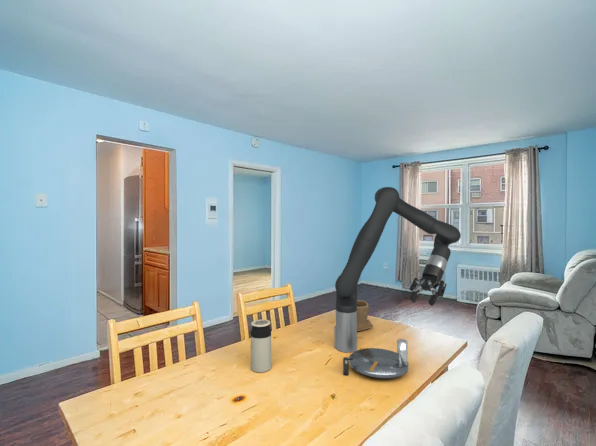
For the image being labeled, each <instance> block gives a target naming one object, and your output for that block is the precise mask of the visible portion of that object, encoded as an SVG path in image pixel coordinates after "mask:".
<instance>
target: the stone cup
mask: <svg viewBox="0 0 596 446" xmlns="http://www.w3.org/2000/svg"><path fill="white" fill-rule="evenodd" d="M369 312H370V305H369V302H367V301H366V300H362V299H357V332H362V331H365V330H368V329H372V328H374V325H373V324H372V322H371V321H370V319H368V316H369V314H370V313H369Z"/></svg>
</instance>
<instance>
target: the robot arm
mask: <svg viewBox="0 0 596 446" xmlns="http://www.w3.org/2000/svg"><path fill="white" fill-rule="evenodd" d="M374 202H375V205H374V208H373V210H372V212H371V215H369V217H368V219H367V220H366V222H364V224H363V226H361V228H360V230H359V232H358V234H357V235H356V238H355V240H354V242H353V245H352V247H351V249H350V253H349V256H348V260H347V263H346V264H345V267H344V268H343V270H342V271H341V273H340V275H339V276H337V279H336V280H335V284H334V285H335V291H336V299H335V325H334V328H333V331H334V334H333V335H334V339H333V340H334V348H335V349H336V350H337V351H339V352H342V353H353V352H355V351H357V350H358V331H357V300H358V284H359V281H360V278H361V276H362V273H363V271H364V269H365V267H366V266H367V264H368V263H369V261H370V259H371V258H372V256H373V254H374V252H375V251H376V248H377V246H378V244H379V241H380V239H381V237H382V235H383V233H384V231H385V228H386V225H387V223H388V220H389V218H391V215H392V214H393V213H395V214H397V215H398V216H401V217H402V218H404V219H405V220H406V221H408V222H409V223H411V224H412V225H414V226H415V227H417V228H419V229H420V230H422V231H423V232H425V233H427V234H429V235H435V236H434V240H433V241H434V242H433V248H432V251H431V253H430V256H429V257H428V259H427V261H426V264H425V267H424V268H423V270H422V274H421V275H422V276H421V278H417V277H414V279H413V280H412V283H411V284H410V287H409V290H410V291H411V295H410V297H409V299H410V301H411V303H416V301H417V298H418V296H419V294H420V293H423V292H424V291H429V292H431V294H430V298H429V299H428V305H429V306H431V307H432V306H434V305H435V304H436V301H437V299H439V297H440V298H443V297H444V294H445V291H446V288H447V283H446V282H445V281H444V280H443V277H444V274H445V271H446V269H447V265H448V261H449V259H450V257H451V253H452V251H451V249H450V248H449V246H450V245H452V244H455V243H458V242H459V241H460V239H461V237H462V235H461V231H460V230H459V229H458V228H457V227H456V226H454V225H453V224H449V223H447V222H444V221H441V220H438V219H437V218H435V217H433V216H432V215H431V214H429V213H427V212H425V211H423V210H422V209H419V208H418V207H415V206H413V205H411V204H409V203H408V202H406V201H405V200H403V199H402V198H401V197H400V193H399V190H397V189H396V188H395V187H392V186H384V187H381V188H378V189H377V190H376V192H375V193H374ZM437 288H438V289H437Z"/></svg>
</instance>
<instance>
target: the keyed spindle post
mask: <svg viewBox="0 0 596 446" xmlns="http://www.w3.org/2000/svg"><path fill="white" fill-rule="evenodd" d="M349 357H350V356H349ZM349 357H342V363H343V364H342V366H343V367H342V368H343V369H342V371H343V372H342V374H343V376H345V377H348V376H349V374H350V373H349V372H350V371H349V369H350V367H349V366H350V363H349V360H353V358H352V357H350V358H349Z"/></svg>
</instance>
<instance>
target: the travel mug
mask: <svg viewBox="0 0 596 446" xmlns="http://www.w3.org/2000/svg"><path fill="white" fill-rule="evenodd" d="M250 324H251V329H250V369H251V370H252V371H253V372H255V373H265V372H268V371H270V370H271V369H272V365H273V364H272V328H270V325H271V321H270V320H269V319H256V320H253V321H251V322H250Z"/></svg>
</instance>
